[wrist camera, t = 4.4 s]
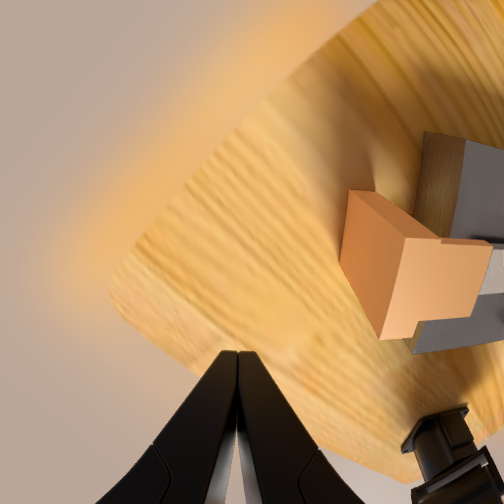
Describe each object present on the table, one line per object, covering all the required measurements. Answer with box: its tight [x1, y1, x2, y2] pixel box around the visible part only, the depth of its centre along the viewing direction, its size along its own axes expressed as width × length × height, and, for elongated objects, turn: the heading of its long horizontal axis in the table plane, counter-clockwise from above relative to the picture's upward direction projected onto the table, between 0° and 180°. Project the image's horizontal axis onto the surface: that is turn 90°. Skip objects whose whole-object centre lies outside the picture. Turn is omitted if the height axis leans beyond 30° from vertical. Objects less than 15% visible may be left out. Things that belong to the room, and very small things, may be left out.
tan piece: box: [339, 190, 493, 340], centre depth 14 cm, size 4×5×7 cm
